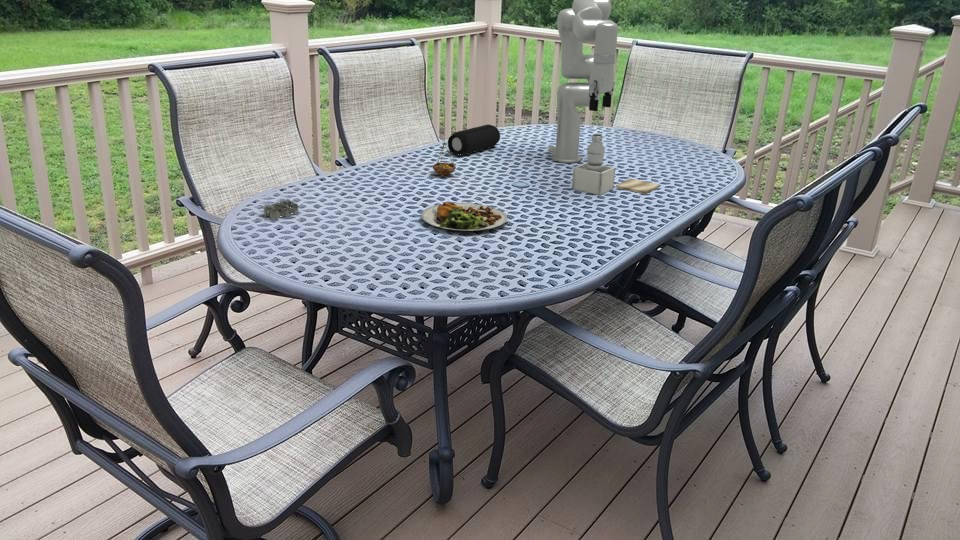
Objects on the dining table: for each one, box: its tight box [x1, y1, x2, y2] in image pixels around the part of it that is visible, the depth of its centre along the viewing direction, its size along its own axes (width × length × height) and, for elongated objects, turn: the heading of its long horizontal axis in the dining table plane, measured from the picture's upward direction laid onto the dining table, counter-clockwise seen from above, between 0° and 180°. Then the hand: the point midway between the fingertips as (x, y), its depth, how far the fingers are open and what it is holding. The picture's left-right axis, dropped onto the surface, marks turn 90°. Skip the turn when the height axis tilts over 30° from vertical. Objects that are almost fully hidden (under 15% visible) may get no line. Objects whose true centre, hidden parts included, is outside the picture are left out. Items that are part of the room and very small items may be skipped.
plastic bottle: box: [586, 133, 606, 173], centre depth 291 cm, size 6×7×20 cm
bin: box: [571, 161, 616, 196], centre depth 293 cm, size 12×11×8 cm
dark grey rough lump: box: [261, 198, 301, 220], centre depth 257 cm, size 11×8×4 cm
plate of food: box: [420, 201, 508, 232], centre depth 256 cm, size 28×28×6 cm
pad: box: [615, 178, 660, 195], centre depth 298 cm, size 12×12×1 cm
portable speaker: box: [447, 123, 501, 156], centre depth 339 cm, size 26×10×10 cm, turn 141°
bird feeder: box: [432, 109, 457, 176], centre depth 299 cm, size 9×9×30 cm
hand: (599, 108), depth 283 cm, fingers open, 9 cm apart
